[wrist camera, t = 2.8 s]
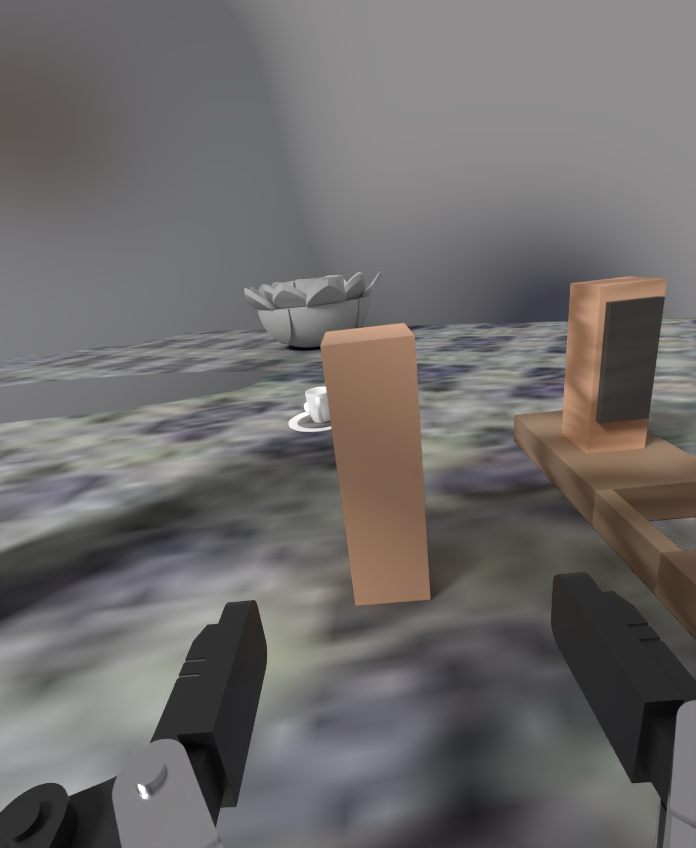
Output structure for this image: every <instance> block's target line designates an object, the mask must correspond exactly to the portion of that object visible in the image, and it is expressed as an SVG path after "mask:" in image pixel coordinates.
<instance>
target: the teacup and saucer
mask: <svg viewBox="0 0 696 848" xmlns="http://www.w3.org/2000/svg"><path fill="white" fill-rule="evenodd" d="M305 394H306V399H307V402H306V403H305V404H304V410H305V411H306V412H304V413H301V414H299V415H297V416H295V417H293V418H292V419H291V420H290V421H289V426H290V428H292V429H294V430H297V431H303V432H318V431H326V430H331V426H330V427H325V428H317V429H309V428H303V427H300V426H298V424H297V422H298V420H299V419H301V418H302V417H304V416H307V415H309V414H310V415H311V417H312V419H313V421H314V422H317V423H323V422H327V421H330V414H329V407H328V399H327V392H326V387H316V388H312V389H309V390H307V391H306V392H305Z"/></svg>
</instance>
